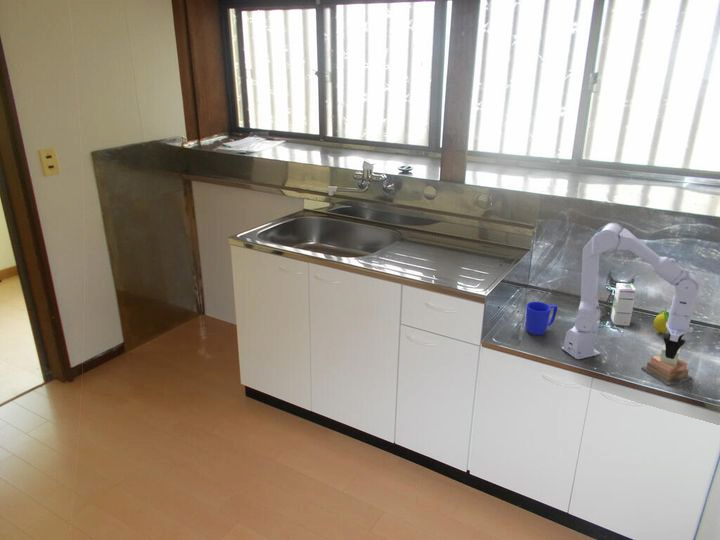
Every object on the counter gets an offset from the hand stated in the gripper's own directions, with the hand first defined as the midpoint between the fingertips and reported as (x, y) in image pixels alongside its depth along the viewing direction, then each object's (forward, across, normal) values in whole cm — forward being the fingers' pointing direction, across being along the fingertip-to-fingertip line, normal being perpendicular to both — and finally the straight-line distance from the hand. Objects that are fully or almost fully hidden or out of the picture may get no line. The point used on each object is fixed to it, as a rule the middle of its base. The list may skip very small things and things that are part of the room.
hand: (671, 352), depth 169 cm
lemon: (+8, +29, +5) cm, 30 cm away
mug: (+8, +6, +41) cm, 43 cm away
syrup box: (+8, +30, +19) cm, 36 cm away
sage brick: (+3, 0, 0) cm, 3 cm away
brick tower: (+8, 0, 0) cm, 8 cm away
